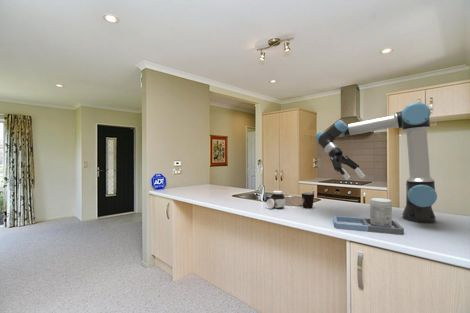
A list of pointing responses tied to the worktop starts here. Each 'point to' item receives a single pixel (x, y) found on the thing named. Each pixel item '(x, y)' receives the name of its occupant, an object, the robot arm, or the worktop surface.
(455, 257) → the worktop surface
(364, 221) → the bay frame
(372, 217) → the supplement tub
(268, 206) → the spread jar
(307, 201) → the coffee mug
